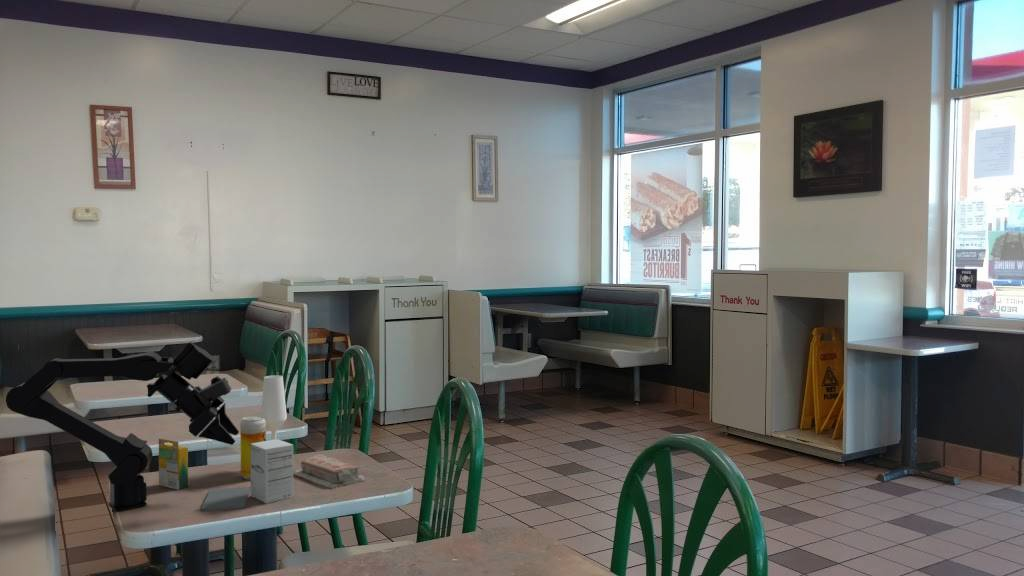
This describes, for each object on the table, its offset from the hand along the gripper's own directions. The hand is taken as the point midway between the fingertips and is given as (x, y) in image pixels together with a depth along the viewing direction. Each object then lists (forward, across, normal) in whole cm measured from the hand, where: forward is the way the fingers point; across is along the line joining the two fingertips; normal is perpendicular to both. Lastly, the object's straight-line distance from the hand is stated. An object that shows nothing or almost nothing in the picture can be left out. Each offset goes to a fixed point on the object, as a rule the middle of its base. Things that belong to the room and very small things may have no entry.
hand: (235, 438), depth 182 cm
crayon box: (-2, +13, +21) cm, 25 cm away
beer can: (+12, +17, +9) cm, 23 cm away
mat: (+8, 0, +12) cm, 14 cm away
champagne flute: (+15, +26, +6) cm, 30 cm away
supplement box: (+16, -1, +5) cm, 16 cm away
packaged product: (+26, +13, -4) cm, 29 cm away
